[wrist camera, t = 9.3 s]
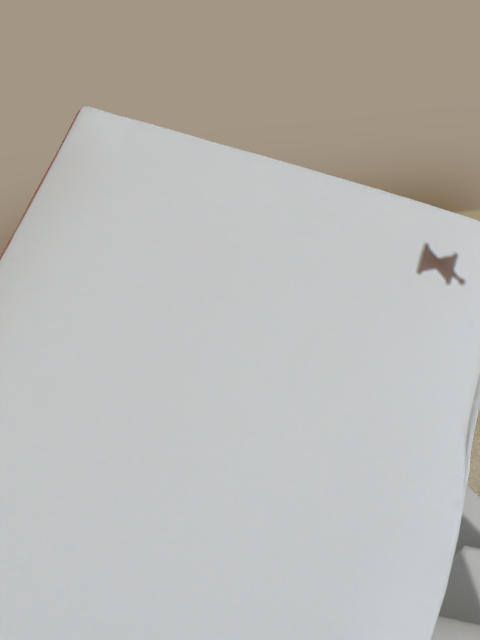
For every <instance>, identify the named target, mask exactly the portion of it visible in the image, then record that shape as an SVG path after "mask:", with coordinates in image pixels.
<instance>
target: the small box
mask: <svg viewBox="0 0 480 640" xmlns="http://www.w3.org/2000/svg"><path fill="white" fill-rule="evenodd" d="M479 408H480V221H478V220H475V219H472V218H469V217H466V216H462V215H459V214H456V213H453V212H449V211H447V210H443V209H440V208H437V207H434V206H431V205H428V204H425V203H422V202H418V201H415V200H412V199H408V198H405V197H402V196H399V195H395V194H392V193H389V192H385V191H382V190H379V189H375V188H372V187H368V186H365V185H362V184H358V183H355V182H351V181H348V180H344V179H341V178H338V177H334V176H331V175H327V174H323V173H320V172H317V171H313V170H310V169H307V168H303V167H300V166H296V165H293V164H289V163H286V162H283V161H279V160H276V159H272V158H269V157H265V156H262V155H258V154H254V153H251V152H247V151H243V150H240V149H236V148H233V147H230V146H226V145H222V144H218V143H214V142H210V141H207V140H204V139H201V138H198V137H194V136H191V135H187V134H184V133H180V132H177V131H173V130H170V129H167V128H163V127H159V126H156V125H152V124H148V123H145V122H141V121H138V120H134V119H130V118H125V117H121V116H118V115H115V114H111V113H108V112H105V111H102V110H99V109H95V108H92V107H88V106H85V107H82V108H81V109H80V110H79V112H78V113H77V115H76V117H75V119H74V121H73V123H72V124H71V127H70V128H69V130H68V133H67V135H66V136H65V138H64V140H63V142H62V144H61V146H60V148H59V150H58V152H57V154H56V156H55V157H54V159H53V161H52V163H51V165H50V166H49V168H48V170H47V172H46V174H45V176H44V177H43V179H42V181H41V183H40V185H39V186H38V188H37V190H36V192H35V194H34V196H33V197H32V199H31V201H30V203H29V205H28V207H27V209H26V211H25V213H24V215H23V217H22V219H21V221H20V223H19V225H18V226H17V228H16V230H15V232H14V234H13V235H12V237H11V239H10V241H9V242H8V244H7V246H6V248H5V249H4V251H3V253H2V255H1V257H0V640H431V637H432V634H433V631H434V628H435V624H436V621H437V618H438V615H439V612H440V608H441V605H442V602H443V599H444V596H445V592H446V588H447V584H448V579H449V575H450V571H451V566H452V562H453V557H454V553H455V549H456V544H457V540H458V535H459V530H460V523H461V517H462V511H463V504H464V498H465V492H466V487H467V481H468V476H469V468H470V455H471V448H472V442H473V437H474V431H475V425H476V421H477V416H478V412H479Z"/></svg>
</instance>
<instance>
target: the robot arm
mask: <svg viewBox="0 0 480 640" xmlns="http://www.w3.org/2000/svg"><path fill="white" fill-rule="evenodd" d="M431 640H480V497H479V496H478V495H477V494H476V493H475V492H474V491H473V490H472V489H471V488H470V487H469V486H467V487H466V492H465V498H464V504H463V511H462V517H461V523H460V530H459V535H458V540H457V544H456V549H455V553H454V557H453V562H452V566H451V571H450V575H449V579H448V584H447V588H446V592H445V596H444V599H443V602H442V605H441V608H440V612H439V615H438V618H437V621H436V624H435V628H434V631H433V634H432V637H431Z"/></svg>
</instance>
